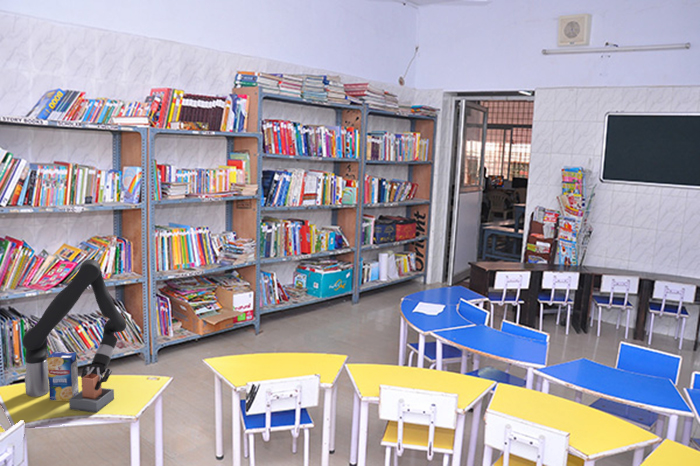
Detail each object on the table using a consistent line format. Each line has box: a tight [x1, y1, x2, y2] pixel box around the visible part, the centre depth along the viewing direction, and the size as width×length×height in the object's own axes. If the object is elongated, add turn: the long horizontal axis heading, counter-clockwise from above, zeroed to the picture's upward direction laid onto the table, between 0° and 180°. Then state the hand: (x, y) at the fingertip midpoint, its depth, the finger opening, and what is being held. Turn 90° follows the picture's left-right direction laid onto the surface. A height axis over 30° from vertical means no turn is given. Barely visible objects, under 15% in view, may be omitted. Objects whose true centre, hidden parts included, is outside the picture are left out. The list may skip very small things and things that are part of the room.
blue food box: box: [47, 351, 80, 402], centre depth 275 cm, size 7×11×22 cm, turn 92°
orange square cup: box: [81, 374, 103, 399], centre depth 270 cm, size 6×6×10 cm
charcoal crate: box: [68, 387, 115, 414], centre depth 271 cm, size 14×14×5 cm
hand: (89, 388), depth 268 cm, fingers closed on orange square cup, 6 cm apart
